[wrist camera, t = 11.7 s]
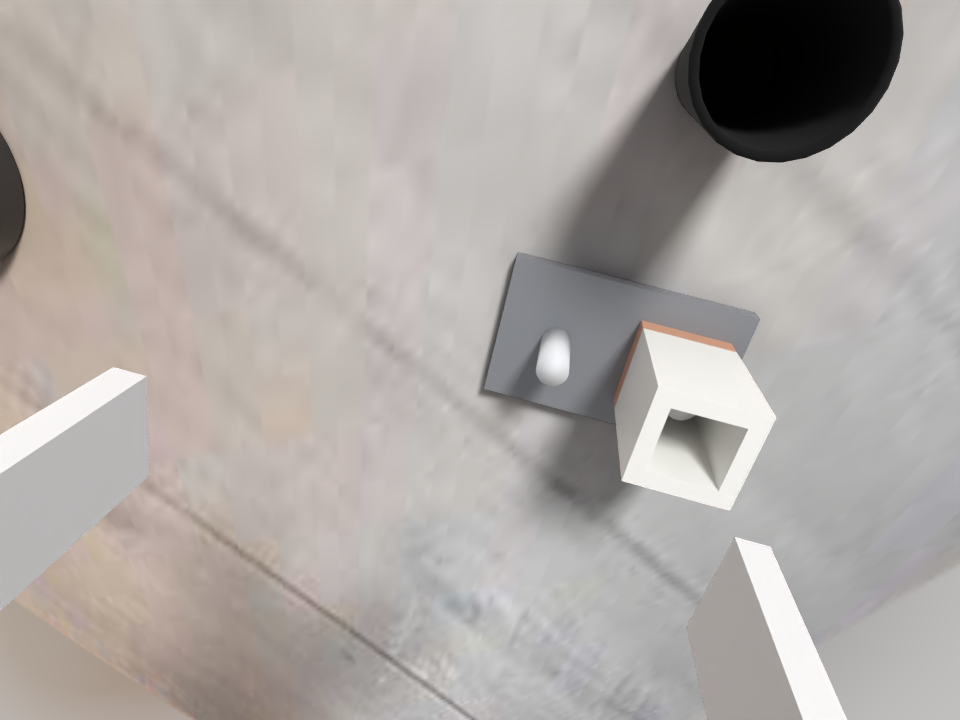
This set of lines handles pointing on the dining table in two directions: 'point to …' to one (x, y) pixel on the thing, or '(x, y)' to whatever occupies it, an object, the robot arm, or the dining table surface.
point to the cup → (788, 72)
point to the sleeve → (701, 439)
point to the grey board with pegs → (590, 334)
